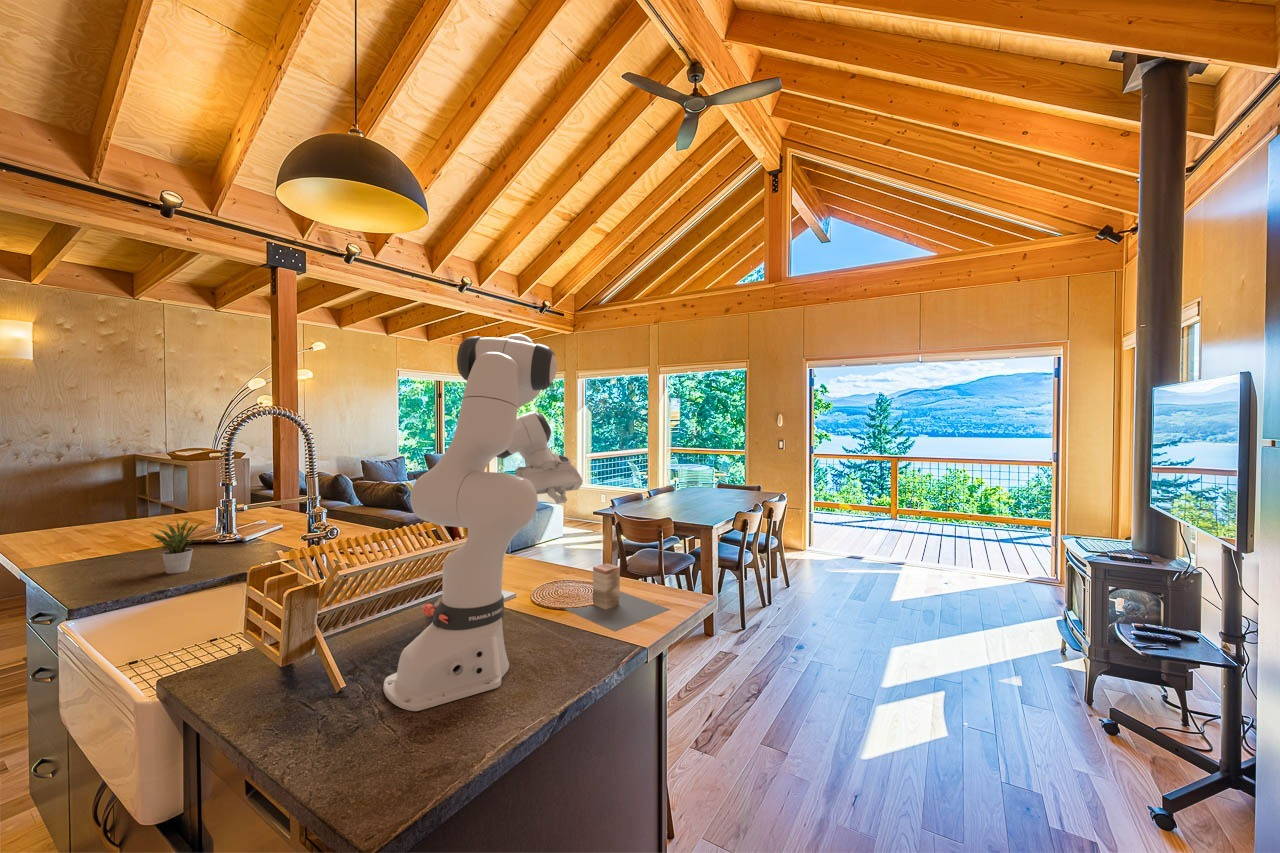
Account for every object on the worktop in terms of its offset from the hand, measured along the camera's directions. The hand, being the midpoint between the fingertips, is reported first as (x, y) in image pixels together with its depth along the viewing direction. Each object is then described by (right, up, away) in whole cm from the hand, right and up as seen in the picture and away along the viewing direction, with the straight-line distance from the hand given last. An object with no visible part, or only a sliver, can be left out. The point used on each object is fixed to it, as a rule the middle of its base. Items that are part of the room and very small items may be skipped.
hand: (562, 502), depth 148 cm
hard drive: (-18, -26, -10) cm, 33 cm away
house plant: (-121, -23, +12) cm, 123 cm away
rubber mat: (+17, -26, -16) cm, 35 cm away
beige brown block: (+14, -25, -13) cm, 31 cm away
